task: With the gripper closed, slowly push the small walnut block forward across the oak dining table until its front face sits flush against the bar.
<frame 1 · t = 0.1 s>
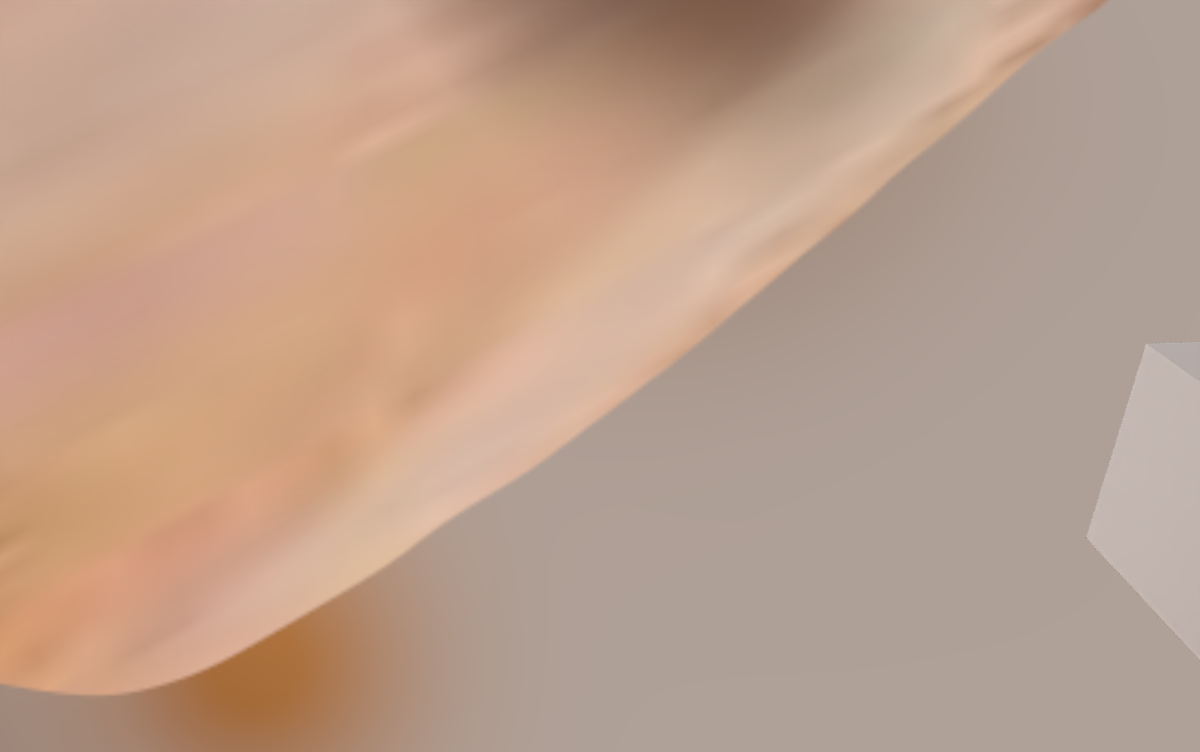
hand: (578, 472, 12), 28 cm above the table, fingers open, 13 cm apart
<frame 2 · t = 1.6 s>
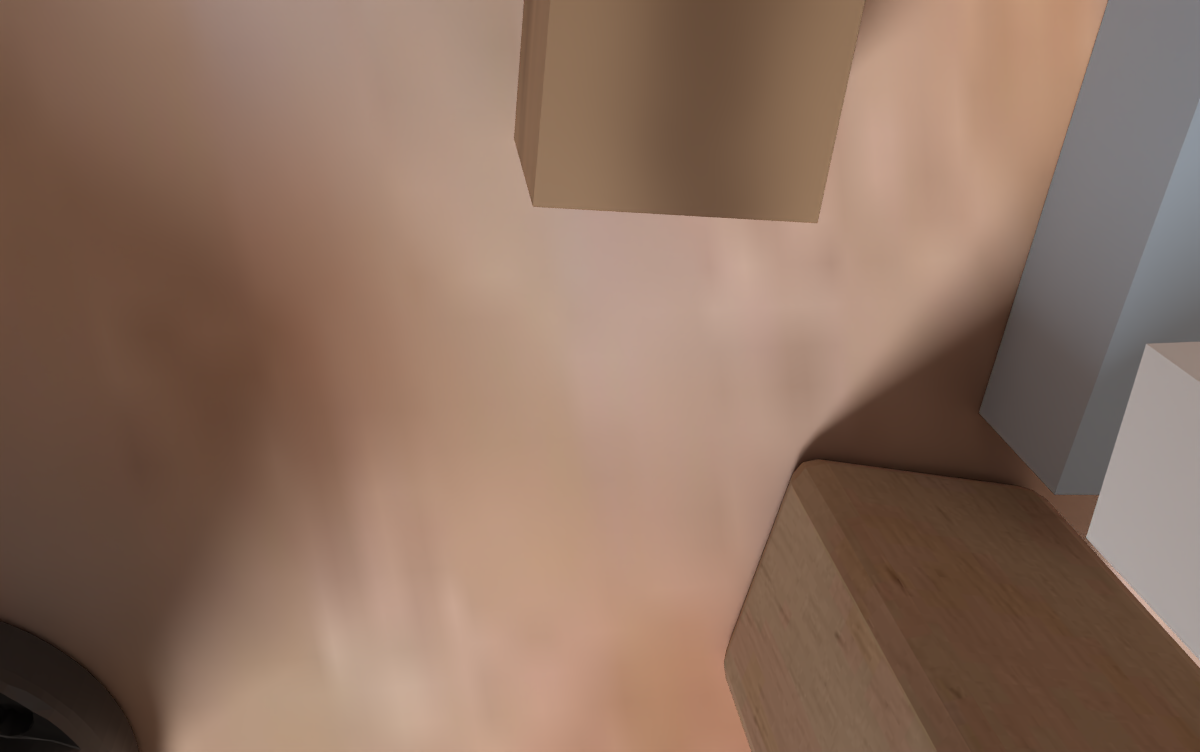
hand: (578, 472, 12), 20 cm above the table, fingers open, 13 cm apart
bar: (1142, 64, 31), on the table
walnut block: (650, 19, 29), on the table
wooden block: (870, 570, 39), on the table
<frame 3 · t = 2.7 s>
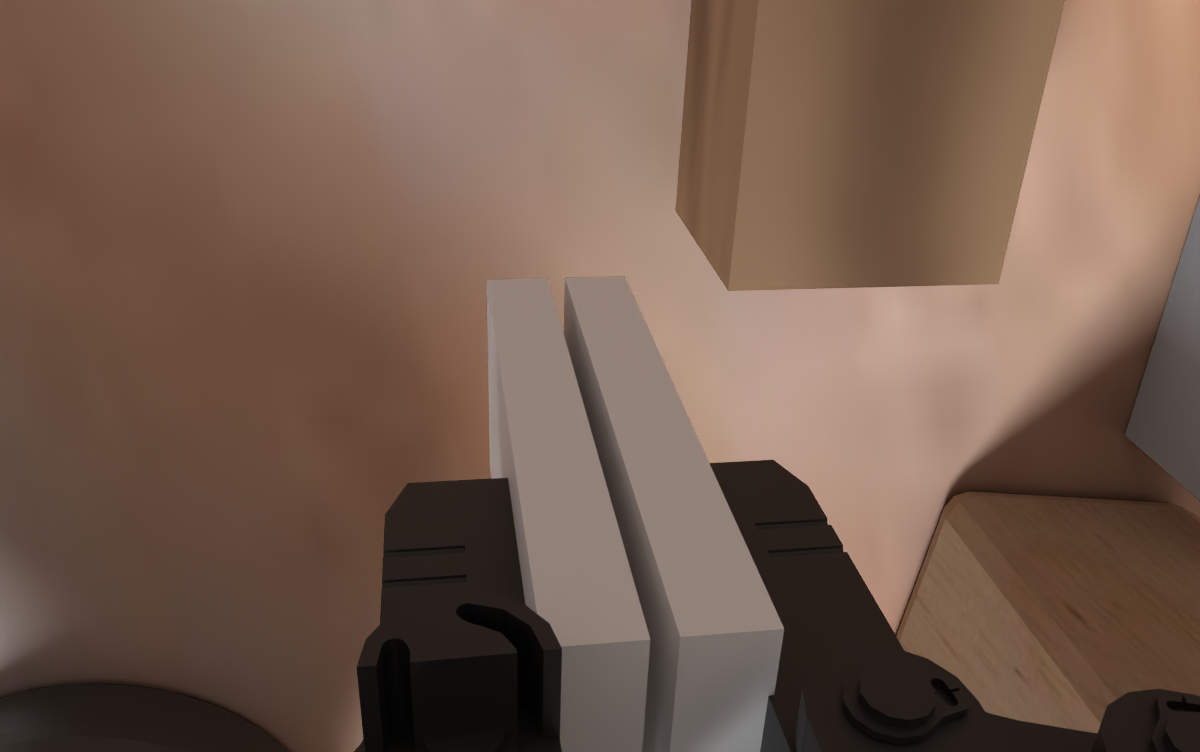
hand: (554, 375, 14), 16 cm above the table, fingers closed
walnut block: (805, 88, 29), on the table
wooden block: (1017, 592, 40), on the table
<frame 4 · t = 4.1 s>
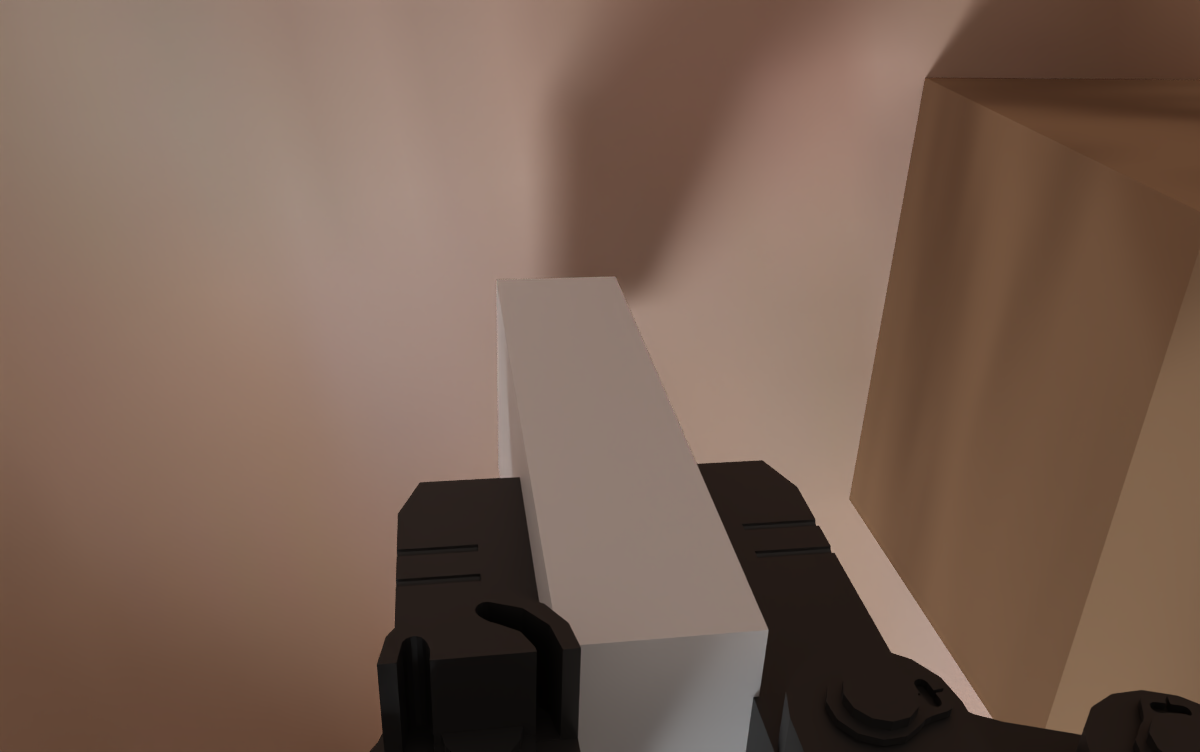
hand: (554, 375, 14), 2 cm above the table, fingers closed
walnut block: (1086, 300, 17), on the table
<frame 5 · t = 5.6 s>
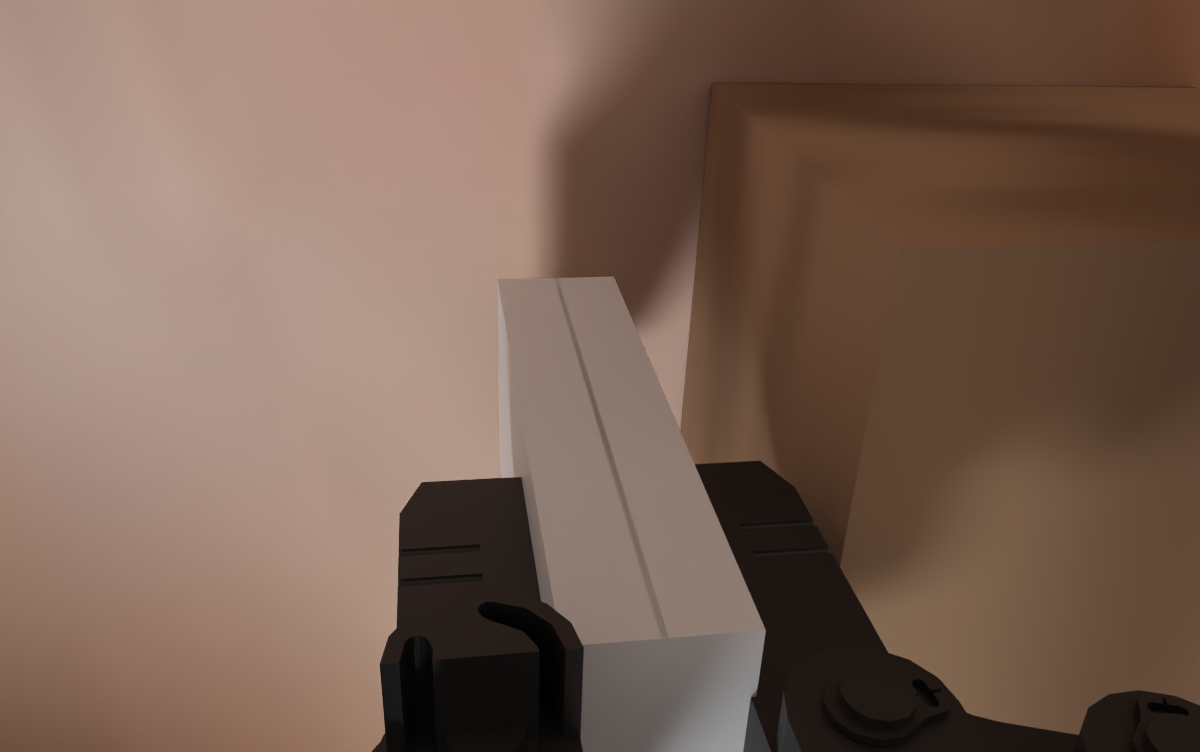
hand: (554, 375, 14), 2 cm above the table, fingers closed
walnut block: (915, 320, 16), on the table, touching gripper
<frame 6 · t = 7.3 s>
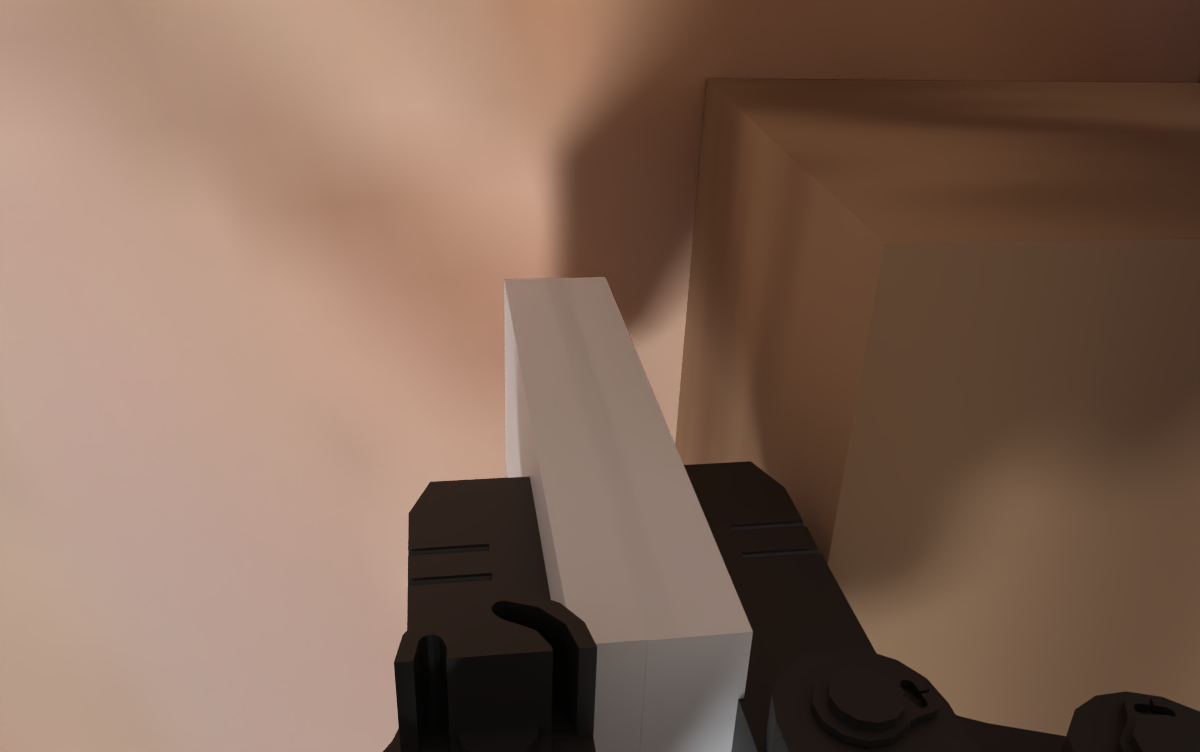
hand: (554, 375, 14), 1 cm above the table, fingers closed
walnut block: (914, 318, 16), on the table, touching bar, gripper
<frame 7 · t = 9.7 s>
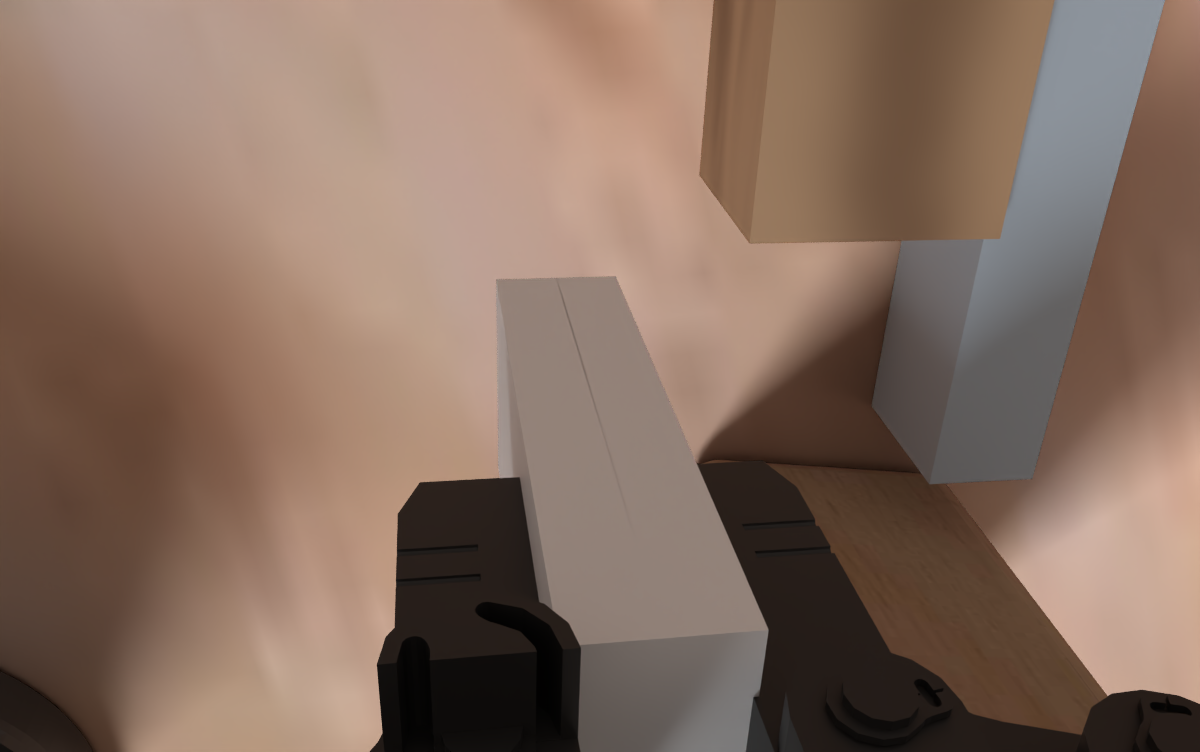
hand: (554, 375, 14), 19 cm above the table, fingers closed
bar: (988, 63, 32), on the table
walnut block: (821, 59, 31), on the table
wooden block: (785, 561, 41), on the table
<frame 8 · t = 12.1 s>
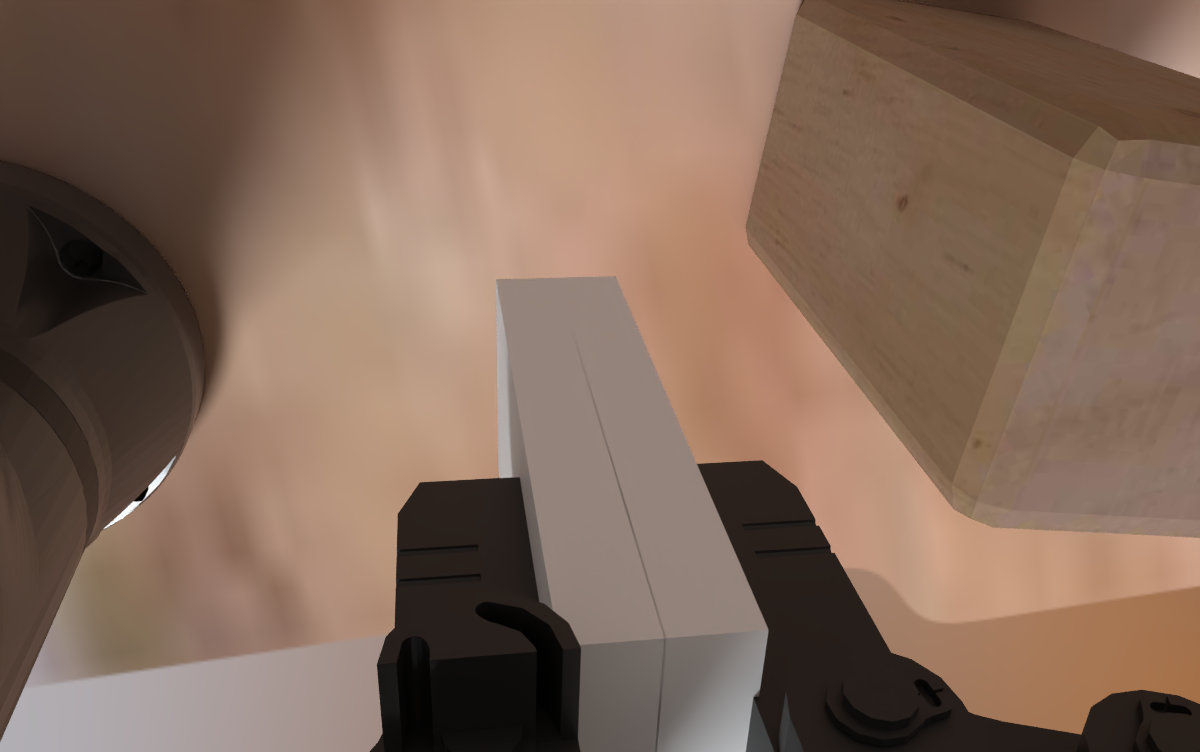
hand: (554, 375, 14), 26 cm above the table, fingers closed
wooden block: (880, 133, 41), on the table
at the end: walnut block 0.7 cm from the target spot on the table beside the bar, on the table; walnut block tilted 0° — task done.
